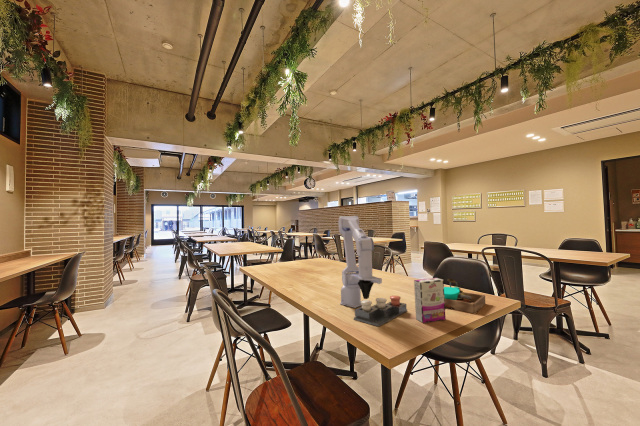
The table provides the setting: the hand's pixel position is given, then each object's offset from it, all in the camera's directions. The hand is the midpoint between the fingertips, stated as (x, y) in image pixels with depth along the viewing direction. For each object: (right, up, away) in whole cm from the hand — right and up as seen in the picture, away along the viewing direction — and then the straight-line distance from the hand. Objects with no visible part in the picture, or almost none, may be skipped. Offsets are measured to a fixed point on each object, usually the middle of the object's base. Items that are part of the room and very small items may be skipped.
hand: (366, 298), depth 115 cm
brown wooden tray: (+46, -8, +16) cm, 49 cm away
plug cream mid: (+7, -5, +3) cm, 9 cm away
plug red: (+14, -5, +6) cm, 16 cm away
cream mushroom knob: (0, -5, 0) cm, 5 cm away
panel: (+7, -8, +3) cm, 11 cm away
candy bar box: (+26, -8, -4) cm, 27 cm away
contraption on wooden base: (+45, -8, +15) cm, 48 cm away
